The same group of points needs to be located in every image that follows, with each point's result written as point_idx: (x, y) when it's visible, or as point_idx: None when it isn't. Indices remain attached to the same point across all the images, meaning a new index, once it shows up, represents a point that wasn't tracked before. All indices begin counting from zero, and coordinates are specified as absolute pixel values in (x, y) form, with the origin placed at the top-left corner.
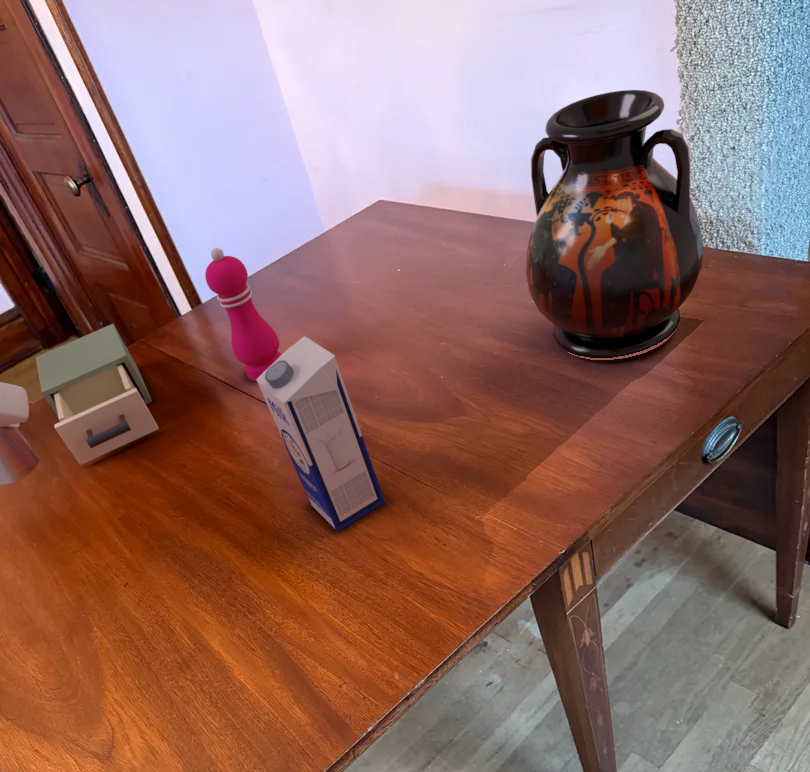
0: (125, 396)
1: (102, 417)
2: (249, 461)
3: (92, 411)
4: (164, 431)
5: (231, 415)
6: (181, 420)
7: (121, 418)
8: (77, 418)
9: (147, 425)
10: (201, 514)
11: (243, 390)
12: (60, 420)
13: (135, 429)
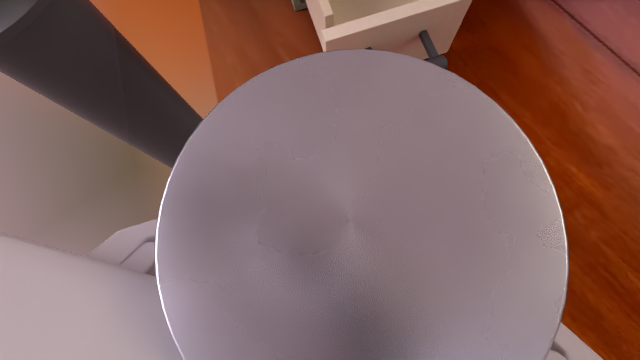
0: (452, 2)
1: (398, 31)
2: (623, 188)
3: (392, 21)
4: (447, 53)
5: (558, 59)
6: (470, 38)
7: (428, 41)
8: (365, 30)
9: (439, 47)
10: (567, 291)
11: (564, 6)
12: (326, 18)
13: (422, 50)
